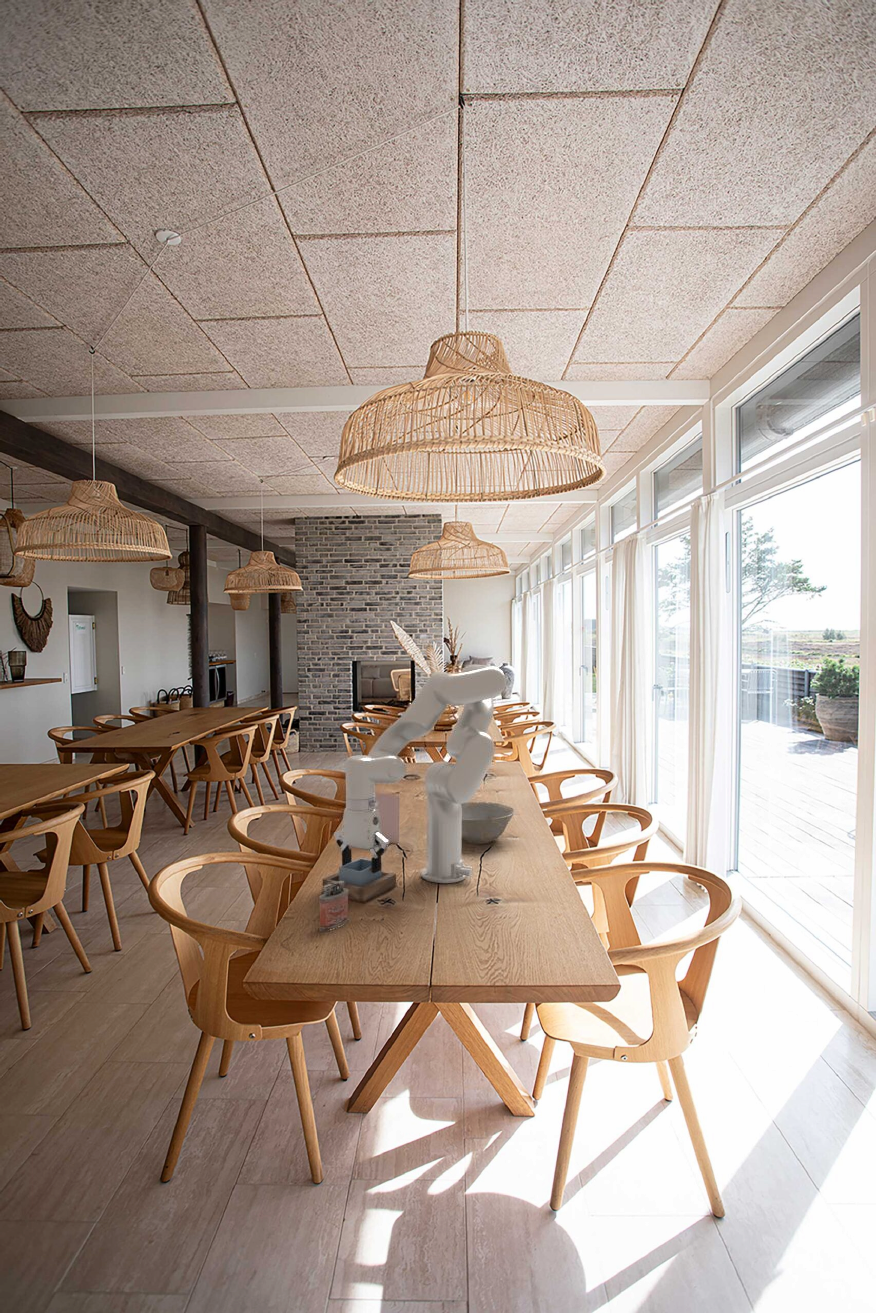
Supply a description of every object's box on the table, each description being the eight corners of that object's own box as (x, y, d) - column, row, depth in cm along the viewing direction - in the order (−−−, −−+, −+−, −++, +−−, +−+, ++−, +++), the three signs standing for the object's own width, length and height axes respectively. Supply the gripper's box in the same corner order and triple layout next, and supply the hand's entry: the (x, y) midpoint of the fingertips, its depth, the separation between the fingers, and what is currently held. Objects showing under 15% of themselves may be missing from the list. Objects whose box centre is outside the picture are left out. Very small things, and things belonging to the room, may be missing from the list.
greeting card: (400, 841, 229) (401, 795, 229) (386, 847, 223) (386, 800, 223) (373, 835, 236) (373, 790, 235) (358, 841, 230) (358, 795, 229)
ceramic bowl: (435, 846, 225) (435, 815, 224) (457, 827, 246) (457, 799, 246) (504, 854, 218) (504, 822, 217) (520, 834, 239) (520, 804, 239)
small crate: (381, 885, 189) (381, 862, 189) (360, 895, 181) (360, 872, 181) (360, 879, 193) (360, 857, 192) (339, 890, 185) (339, 867, 185)
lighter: (341, 918, 169) (341, 876, 168) (351, 921, 167) (351, 879, 166) (315, 928, 162) (315, 885, 162) (325, 932, 160) (325, 888, 160)
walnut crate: (396, 886, 189) (396, 873, 189) (364, 903, 178) (364, 889, 178) (355, 877, 196) (355, 864, 196) (322, 892, 185) (322, 879, 185)
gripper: (396, 804, 185) (396, 869, 186) (343, 796, 194) (344, 858, 195) (378, 811, 179) (379, 878, 179) (325, 802, 188) (326, 866, 188)
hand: (361, 868), depth 187 cm, fingers open, 9 cm apart
